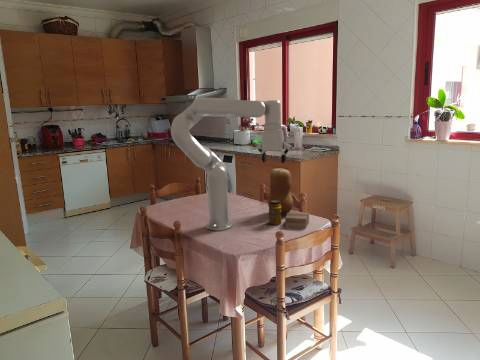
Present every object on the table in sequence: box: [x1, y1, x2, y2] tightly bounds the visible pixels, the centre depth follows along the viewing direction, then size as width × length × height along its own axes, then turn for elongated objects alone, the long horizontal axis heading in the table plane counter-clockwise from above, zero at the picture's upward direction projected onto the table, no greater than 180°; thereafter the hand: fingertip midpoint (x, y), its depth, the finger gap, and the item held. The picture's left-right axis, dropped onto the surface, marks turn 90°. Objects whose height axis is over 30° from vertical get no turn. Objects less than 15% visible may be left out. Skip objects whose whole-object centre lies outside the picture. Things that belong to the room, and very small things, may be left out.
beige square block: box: [284, 211, 310, 229], centre depth 188 cm, size 10×10×5 cm
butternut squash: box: [267, 168, 294, 216], centre depth 203 cm, size 14×13×25 cm
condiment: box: [263, 200, 285, 228], centre depth 189 cm, size 7×8×12 cm
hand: (273, 162), depth 183 cm, fingers open, 9 cm apart
